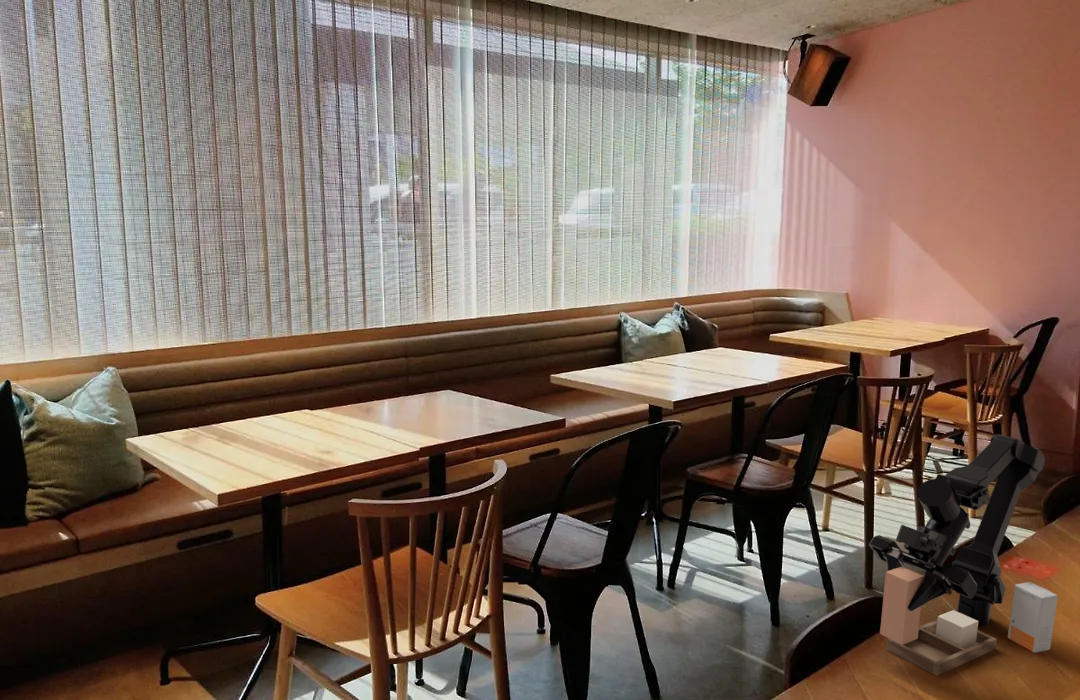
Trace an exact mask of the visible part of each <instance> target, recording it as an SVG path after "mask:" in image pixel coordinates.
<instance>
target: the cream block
mask: <svg viewBox="0 0 1080 700" xmlns="http://www.w3.org/2000/svg"><path fill="white" fill-rule="evenodd" d="M936 620H937V627H936V635H937V636H939V637H941V638H943V639H945V640H948V641H950V642H952V643H954V644H956V645H958V646H960V647H962V648H964V649H967V648H969V647H971V646H974V645H976V637H977V630H979V629H978V627H979V626H978V621H977V620H975V619H972V618H970V617H968V616H966V615H963V614H961V613H959V612H957V611H956V610H954V609H953V610H950V611H947V612H945V613H942V614H940V615H938V616H937V619H936Z"/></svg>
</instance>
